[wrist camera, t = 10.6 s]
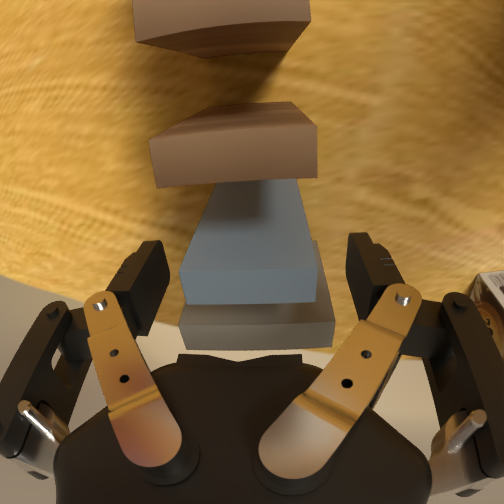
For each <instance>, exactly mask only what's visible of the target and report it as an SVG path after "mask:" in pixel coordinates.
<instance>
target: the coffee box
mask: <svg viewBox="0 0 504 504" xmlns="http://www.w3.org/2000/svg"><path fill="white" fill-rule="evenodd" d="M469 298H470V299H472V301H473V302H474V303H475V305H476V307H477V309H478V310H479V312H480V314H481V316H482V318H483V320H484V322H485V324H486V325H487V327H488V329H489V331H490V333H491V335H492V337H493V339H494V341H495V343H496V346H497V348H498V350H499V352H500V354H501V356H502V359H503V361H504V270H502V271H494V272H486V273H479V274H478V275H477V277H476V280H475V283H474V286H473V289H472V292H471V295H470V297H469Z"/></svg>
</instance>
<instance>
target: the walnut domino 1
mask: <svg viewBox="0 0 504 504" xmlns="http://www.w3.org/2000/svg"><path fill="white" fill-rule="evenodd" d="M133 16H134V30H135V41H136V42H137V43H142V44H147V45H152V46H156V47H161V48H165V49H169V50H173V51H177V52H181V53H185V54H189V55H193V56H196V57H200V58H208V57H216V56H224V55H234V54H245V53H259V52H281V51H288V50H289V49H290V48H291V46H292V45H293V44H294V43H295V41H296V40H297V39H298V37H299V36H300V35H301V33H302V32H303V31H304V30H305V28H306V27H307V26H308V25H309V23H310V22H311V14H310V4H309V0H133Z"/></svg>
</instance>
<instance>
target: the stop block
mask: <svg viewBox="0 0 504 504" xmlns="http://www.w3.org/2000/svg"><path fill="white" fill-rule="evenodd" d="M312 244H313V249H314V253H315V258H316V262H317V267H318V271H317V287H316V300H315V302H302V303H273V304H219V305H187V303H186V302H185V305H184V308H183V311H182V314H181V317H180V321H179V324H178V326H179V329H180V332H181V335H182V338H183V341H184V344H185V346H186V349H187V350H287V349H308V348H324V347H332V342H333V335H334V329H335V322H336V321H335V316H334V312H333V307H332V303H331V299H330V294H329V290H328V286H327V281H326V277H325V273H324V269H323V265H322V261H321V257H320V253H319V249H318V245H317V241H312Z"/></svg>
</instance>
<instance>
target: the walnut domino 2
mask: <svg viewBox="0 0 504 504" xmlns="http://www.w3.org/2000/svg"><path fill="white" fill-rule="evenodd" d="M148 142H149V148H150V154H151V159H152V165H153V170H154V175H155V181H156V186H157V188H165V187H175V186H185V185H196V184H208V183H221V182H236V181H252V180H272V179H299V178H317V126H316V125H315V124H314V123H313V122H312V121H311V120H310V119H309V118H308V117H307V116H306V115H305V114H304V113H303V112H302V111H300V110H299V109H298V108H297V107H296V106H295V105H294V104H293V103H292V102H269V103H252V104H239V105H228V106H218V107H209V108H206V109H204V110H202V111H200V112H198V113H196V114H194V115H192V116H190V117H188V118H187V119H185V120H183V121H181V122H179V123H177V124H176V125H174V126H172V127H170V128H168V129H167V130H165V131H163V132H161V133H160V134H158V135H156V136H155V137H153V138H151V139H150V140H148Z"/></svg>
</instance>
